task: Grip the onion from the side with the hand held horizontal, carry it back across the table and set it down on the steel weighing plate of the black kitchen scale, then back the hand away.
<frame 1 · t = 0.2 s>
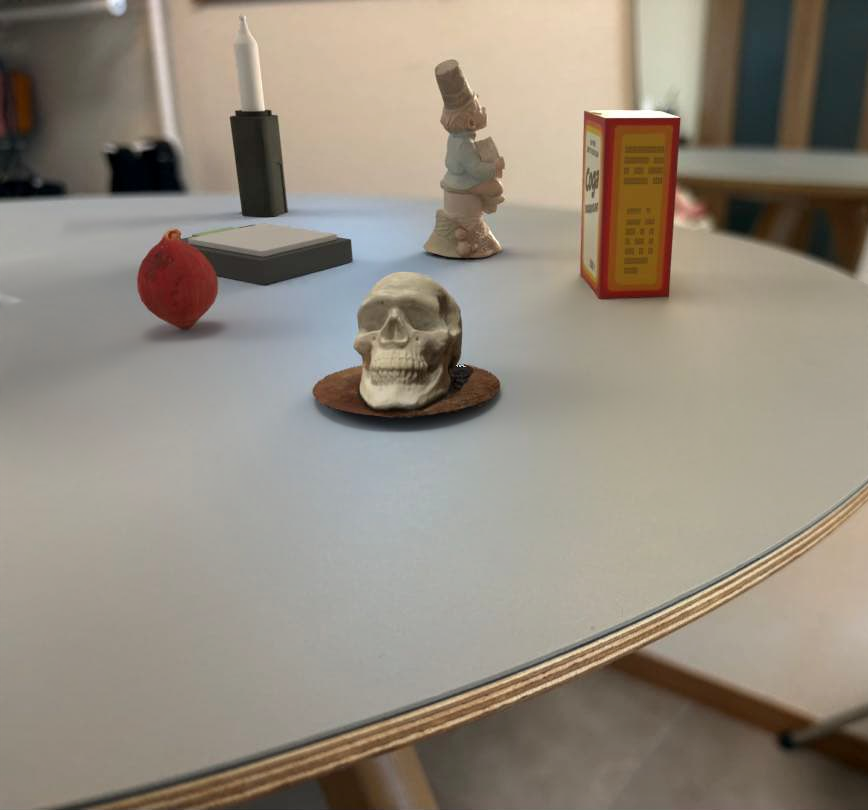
candle: (265, 214, 117), on the table
skull: (408, 395, 56), on the table
figurine: (465, 254, 95), on the table
scale: (266, 264, 89), on the table
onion: (185, 331, 68), on the table
baking soda box: (622, 286, 82), on the table
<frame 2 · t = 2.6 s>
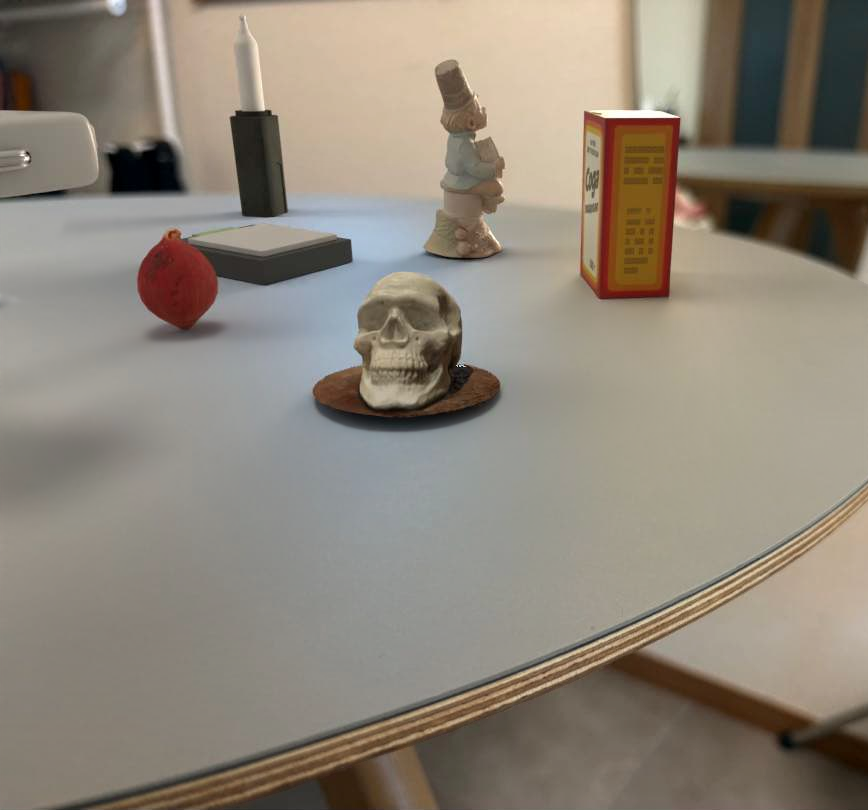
hand: (20, 135, 51), 16 cm above the table, tool horizontal, fingers open, 8 cm apart
nothing on the table moved.
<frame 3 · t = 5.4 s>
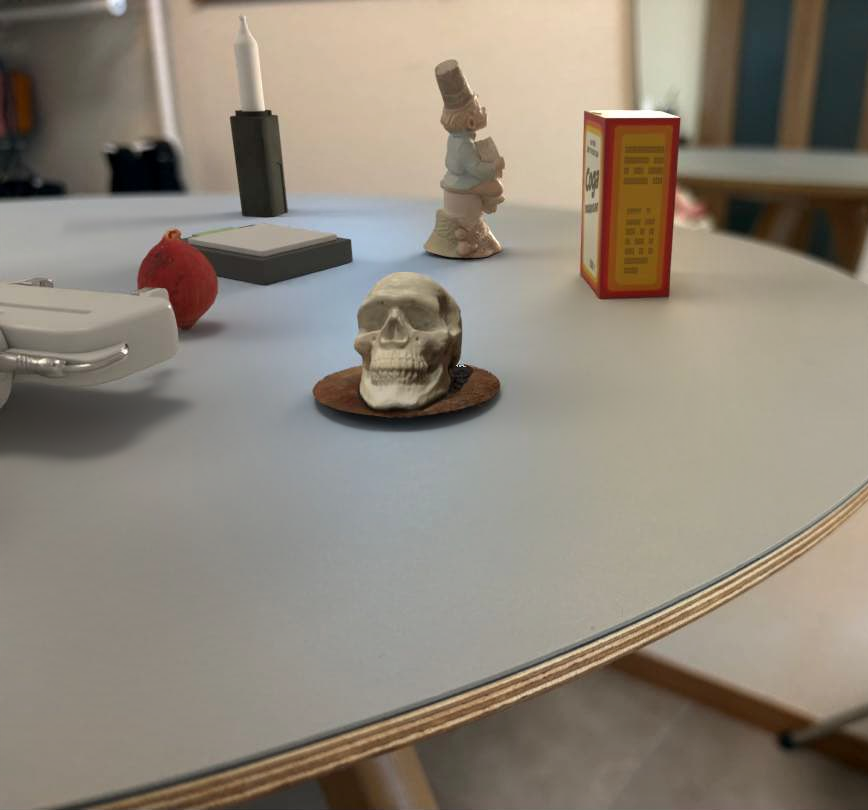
hand: (102, 293, 59), 5 cm above the table, tool horizontal, fingers open, 8 cm apart
nothing on the table moved.
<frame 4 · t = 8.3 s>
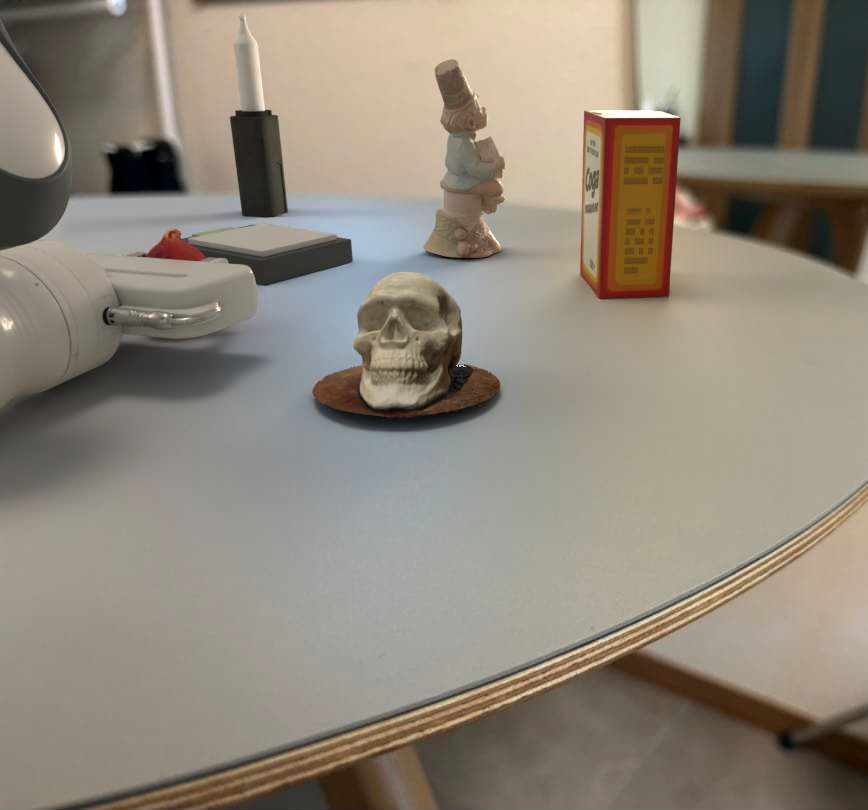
hand: (182, 265, 67), 5 cm above the table, tool horizontal, fingers closed on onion, 5 cm apart
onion: (185, 331, 68), on the table, touching gripper
everything else where it was.
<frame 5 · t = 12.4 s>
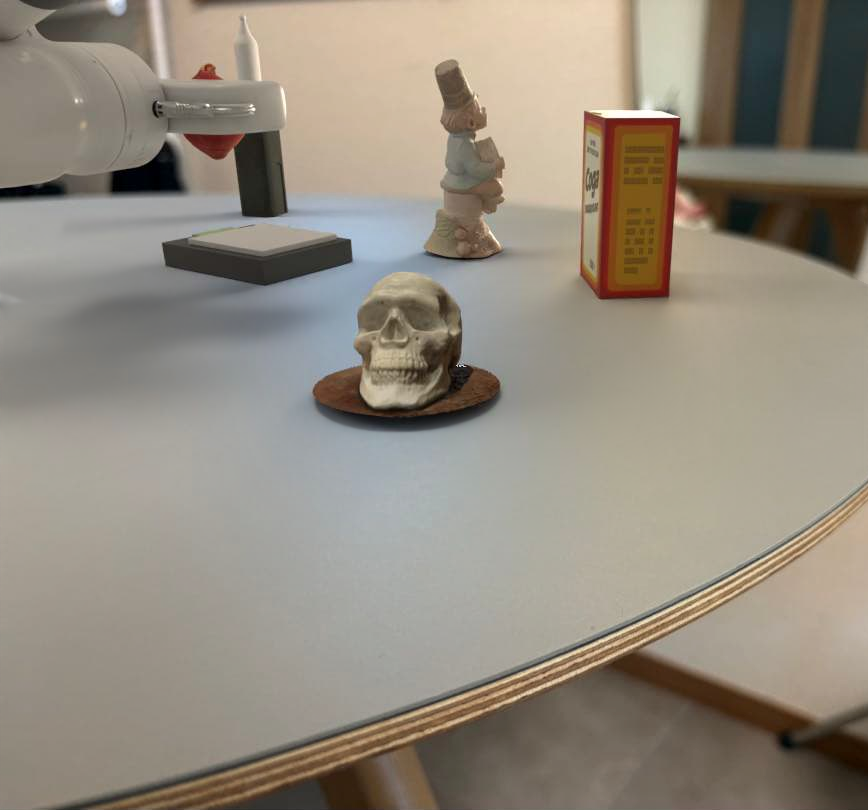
hand: (215, 99, 74), 17 cm above the table, tool horizontal, fingers closed on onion, 5 cm apart
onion: (218, 162, 75), point 12 cm above the table, touching gripper
everything else where it was.
when the fingers open (8 cm above the table, at t = 16.8 s): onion stays where it is, resting on scale.
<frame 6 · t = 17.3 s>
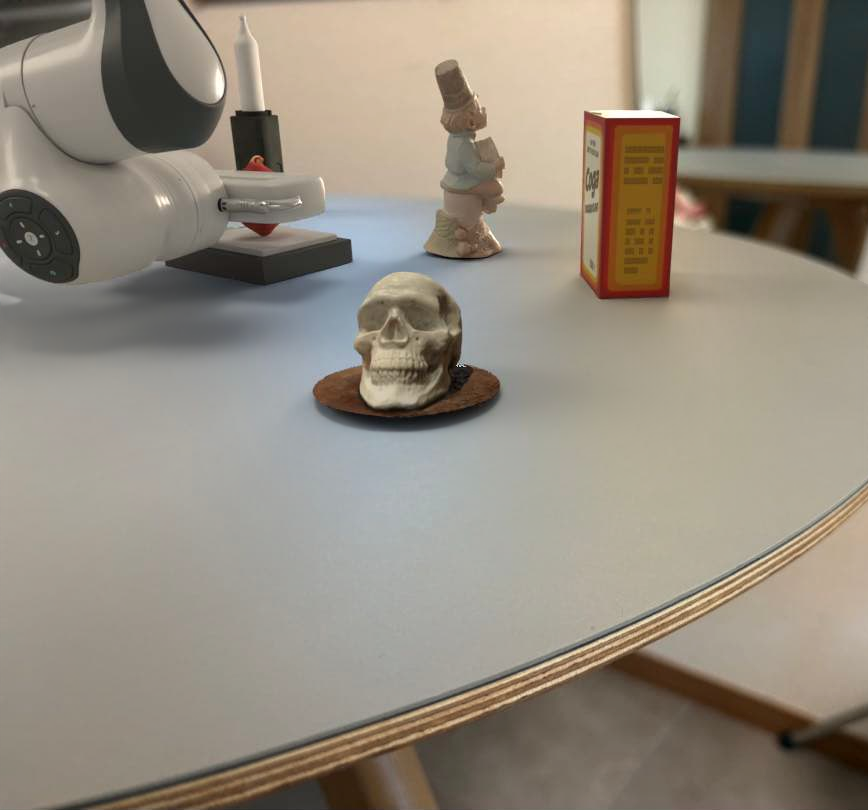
hand: (261, 182, 87), 8 cm above the table, tool horizontal, fingers open, 8 cm apart
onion: (264, 238, 88), point 3 cm above the table, touching scale
everything else where it was.
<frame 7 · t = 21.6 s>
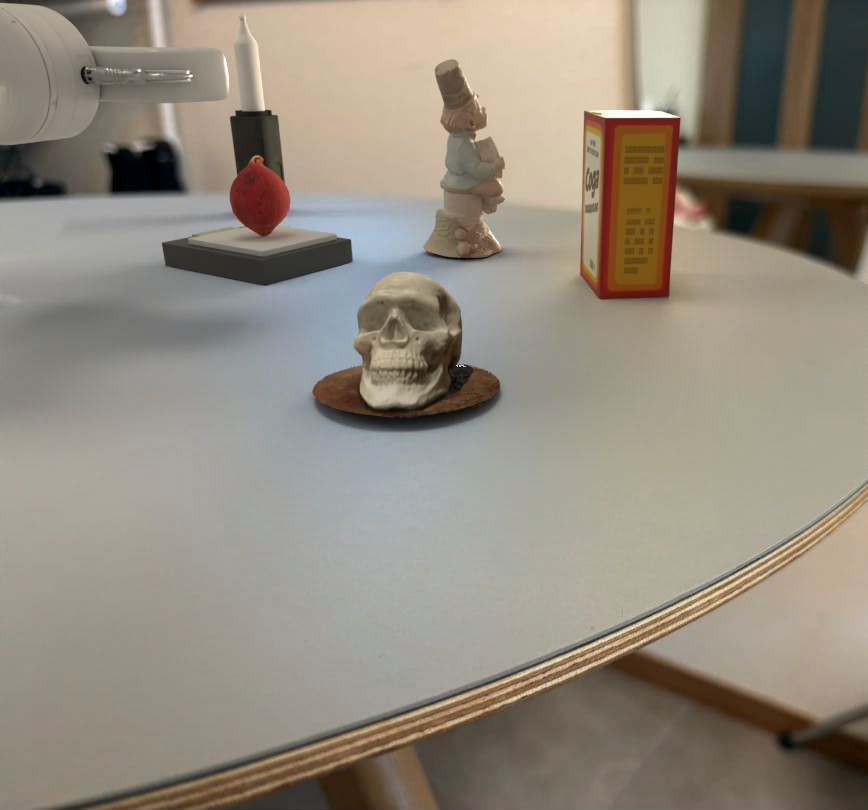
hand: (160, 70, 71), 19 cm above the table, tool horizontal, fingers open, 8 cm apart
nothing on the table moved.
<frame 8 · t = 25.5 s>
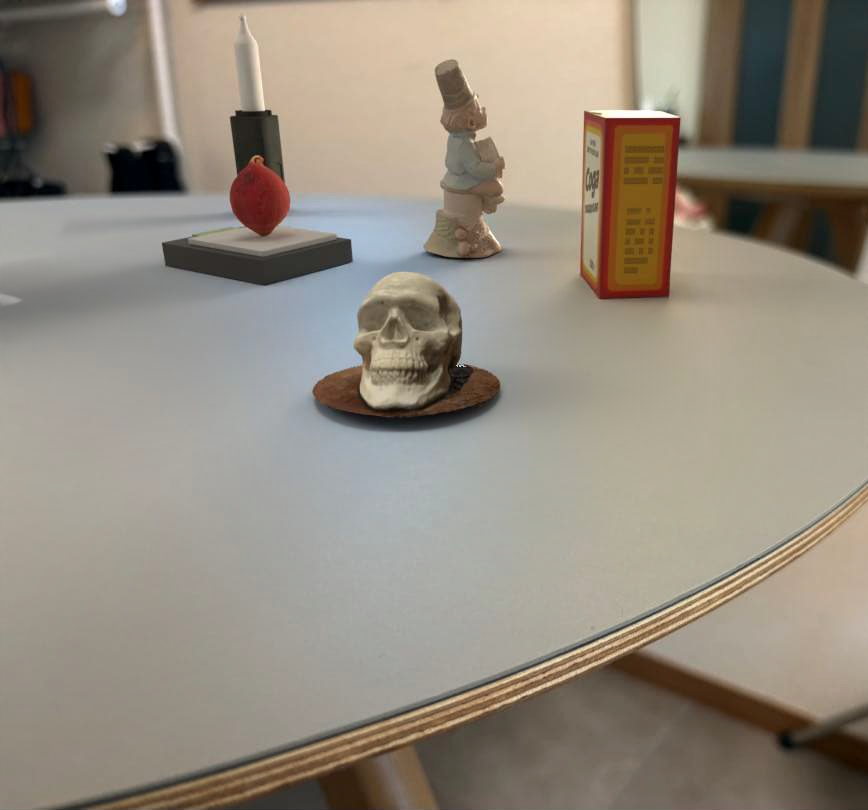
nothing on the table moved.
at the end: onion inside the target area on the scale (0.1 cm from its centre), point 2.8 cm above the scale's base; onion tilted 0°; the gripper is holding nothing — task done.
